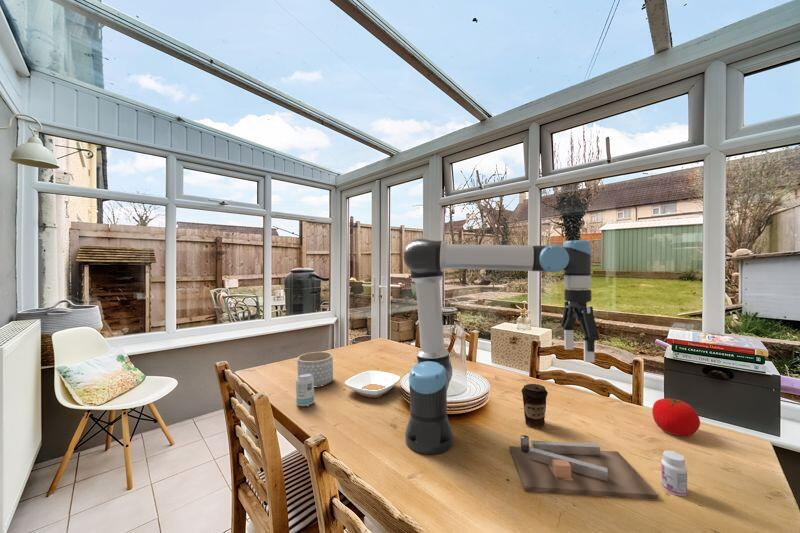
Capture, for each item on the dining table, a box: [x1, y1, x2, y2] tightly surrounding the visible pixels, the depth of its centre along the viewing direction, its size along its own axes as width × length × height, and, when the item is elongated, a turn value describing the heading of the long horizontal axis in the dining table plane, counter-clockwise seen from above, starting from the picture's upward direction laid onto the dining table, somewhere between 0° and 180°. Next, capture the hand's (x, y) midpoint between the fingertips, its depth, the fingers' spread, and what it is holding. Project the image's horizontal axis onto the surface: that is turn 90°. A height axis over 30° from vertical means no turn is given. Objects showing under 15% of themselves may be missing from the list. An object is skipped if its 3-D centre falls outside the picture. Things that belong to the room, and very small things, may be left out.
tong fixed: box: [520, 434, 601, 456], centre depth 90 cm, size 21×2×4 cm, turn 83°
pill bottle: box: [660, 450, 689, 497], centre depth 76 cm, size 5×5×8 cm
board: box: [508, 445, 660, 501], centre depth 83 cm, size 30×17×1 cm, turn 83°
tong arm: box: [530, 446, 608, 482], centre depth 83 cm, size 18×2×2 cm, turn 58°
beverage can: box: [295, 373, 315, 407], centre depth 128 cm, size 7×7×12 cm
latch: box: [553, 460, 571, 478], centre depth 81 cm, size 4×2×3 cm, turn 83°
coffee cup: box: [520, 383, 549, 429], centre depth 108 cm, size 9×8×13 cm
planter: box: [296, 351, 334, 386], centre depth 151 cm, size 16×16×13 cm
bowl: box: [344, 370, 402, 398], centre depth 140 cm, size 22×22×5 cm
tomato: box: [651, 397, 701, 437], centre depth 102 cm, size 11×12×10 cm
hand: (578, 355), depth 100 cm, fingers open, 13 cm apart
